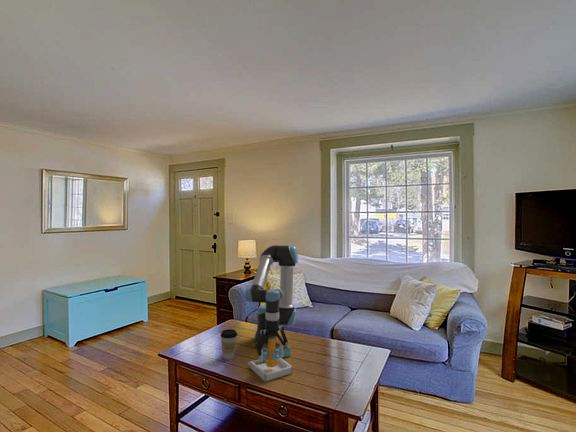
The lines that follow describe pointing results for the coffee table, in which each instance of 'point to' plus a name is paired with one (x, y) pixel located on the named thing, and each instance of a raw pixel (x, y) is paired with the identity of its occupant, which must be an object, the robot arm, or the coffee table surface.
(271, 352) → the orange tube with rings
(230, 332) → the coffee cup
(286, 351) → the gate
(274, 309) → the robot arm
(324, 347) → the coffee table surface
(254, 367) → the white square tray
